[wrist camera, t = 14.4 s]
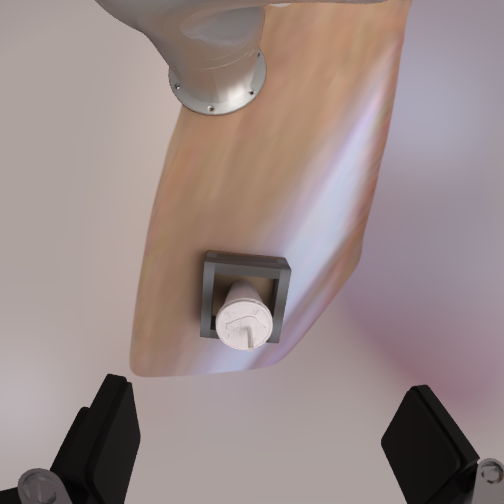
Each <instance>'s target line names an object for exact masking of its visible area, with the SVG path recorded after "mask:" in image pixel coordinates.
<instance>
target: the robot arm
mask: <svg viewBox="0 0 504 504" xmlns="http://www.w3.org/2000/svg"><path fill="white" fill-rule="evenodd" d="M95 1H96V2H97V3H98V4H99V5H100V6H101V7H102V8H103V9H104V10H106V11H107V12H108V13H109V14H111V15H112V16H113V17H115V18H116V19H118V20H119V21H121V22H123V23H125V24H126V25H128V26H130V27H132V28H134V29H136V30H138V31H140V32H142V33H144V34H145V35H146V36H147V37H148V38H149V39H150V41H151V42H152V43H153V44H154V46H155V47H156V48H157V50H158V51H159V53H160V54H161V56H162V57H163V58H164V60H165V61H166V63H167V64H168V65H169V83H170V86H171V89H172V91H173V93H174V94H175V96H176V97H177V99H178V100H179V101H180V102H181V103H182V104H183V105H185V106H186V107H187V108H189V109H191V110H193V111H194V112H197V113H200V114H204V115H211V116H218V115H226V114H231V113H234V112H236V111H238V110H241V109H242V108H244V107H245V106H247V105H249V104H250V103H251V102H252V101H253V100H254V99H255V98H256V96H257V95H258V94H259V92H260V91H261V89H262V87H263V84H264V81H265V78H266V62H265V59H264V56H263V53H262V52H261V50H260V48H259V46H260V41H261V36H262V31H263V26H264V21H265V9H264V6H266V5H267V4H279V3H305V2H321V3H348V4H373V3H379V2H383V1H387V0H95ZM257 56H258V57H257ZM177 87H180V89H178V90H177ZM250 92H253V95H250V94H249V93H250ZM210 108H213V109H214V110H213V111H210ZM139 444H140V429H139V424H138V419H137V413H136V407H135V402H134V395H133V388H132V383H131V382H127V379H126V378H125V377H123V376H118V375H113V374H107V376H106V378H105V379H104V381H103V383H102V385H101V387H100V389H99V391H98V393H97V395H96V397H95V398H94V400H93V403H92V404H91V406H90V408H88V407H82V408H81V409H80V411H79V412H78V414H77V416H76V418H75V420H74V422H73V424H72V426H71V427H70V430H69V431H68V433H67V436H66V438H65V439H64V441H63V444H62V445H61V447H60V450H59V452H58V454H57V456H56V458H55V460H54V462H53V464H52V466H51V468H50V470H46V469H41V468H37V469H31V470H28V471H26V472H25V473H24V474H22V476H21V477H20V479H19V481H18V486H17V487H15V488H11V489H7V490H3V491H0V504H124V501H125V497H126V493H127V489H128V485H129V481H130V477H131V474H132V470H133V466H134V462H135V459H136V455H137V451H138V448H139ZM381 446H382V448H383V450H384V452H385V455H386V457H387V459H388V461H389V464H390V466H391V468H392V470H393V472H394V475H395V477H396V479H397V481H398V484H399V486H400V488H401V490H402V492H403V495H404V497H405V500H406V502H407V504H504V465H503V464H502V463H501V462H500V461H498V460H496V459H492V458H488V459H484V460H483V461H481V462H480V463H479V464H477V461H478V460H479V459H480V457H479V455H478V454H477V453H476V451H475V450H474V448H473V447H472V445H471V444H470V442H469V441H468V440H467V438H466V437H465V435H464V434H463V433H462V431H461V430H460V428H459V427H458V425H457V424H456V423H455V421H454V420H453V418H452V417H451V416H450V414H449V413H448V412H447V410H446V409H445V408H444V406H443V405H442V404H441V402H440V401H439V399H438V398H437V397H436V396H435V394H434V393H433V391H432V390H431V389H430V387H428V385H419V386H413V387H411V388H410V390H409V391H407V393H406V394H405V396H404V398H403V400H402V402H401V404H400V406H399V408H398V410H397V412H396V414H395V416H394V418H393V419H392V421H391V423H390V425H389V426H388V428H387V430H386V432H385V433H384V435H383V437H382V439H381Z"/></svg>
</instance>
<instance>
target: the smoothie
mask: <svg viewBox="0 0 504 504" xmlns="http://www.w3.org/2000/svg"><path fill="white" fill-rule="evenodd" d="M272 329H273V322H272V316H271V313H270V311H269V310H268V308H267V307H266V306H265V305H264V304H263V302H262V300H261V298H260V296H259V294H258V292H257V290H256V288H255V286H254V284H253V283H252V282H250V281H248V280H238V281H236V282H234V283H233V284H232V285H231V287H230V290H229V292H228V295H227V298H226V300H225V303H224V305H223V306H222V308H221V309H220V310H219V312H218V314H217V316H216V331H217V334H218V336H219V338H220V339H221V340H222V341H223V342H224V343H225V344H226V345H228V346H229V347H231V348H234V349H238V350H248V351H249V352H253V351H254V348H257V347H259V346H261V345H262V344H264V343H265V342H266V341H267V340H268V338H269V337H270V335H271V333H272Z"/></svg>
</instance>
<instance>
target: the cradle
mask: <svg viewBox="0 0 504 504" xmlns="http://www.w3.org/2000/svg"><path fill="white" fill-rule="evenodd" d="M290 276H291V268H290V266H289V264H288V262H287V260H286V258H281V257H270V256H260V255H250V254H240V253H230V252H220V251H210V250H208V252H207V255H206V258H205V262H204V275H203V290H202V307H201V326H200V337H206V338H216V339H220V338H219V336H218V334H217V331H216V316H217V314H218V312H219V310H220V309H221V308H222V306H223V305H224V303H225V300H226V298H227V295H228V292H229V290H230V287H231V285H232V284H233V283H234V282H236V281H238V280H248V281H250V282H252V283H253V284H254V286H255V288H256V290H257V292H258V294H259V296H260V298H261V300H262V302H263V304H264V305H265V306H266V307H267V308H268V310H269V311H270V313H271V316H272V322H273V329H272V333H271V335H270V337H269V338H268V340H267V341H266V342H268V343H279V338H280V332H281V327H282V322H283V316H284V311H285V305H286V299H287V293H288V288H289V282H290Z"/></svg>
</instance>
